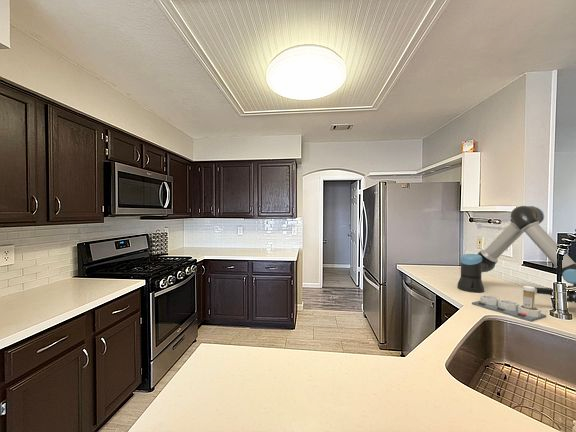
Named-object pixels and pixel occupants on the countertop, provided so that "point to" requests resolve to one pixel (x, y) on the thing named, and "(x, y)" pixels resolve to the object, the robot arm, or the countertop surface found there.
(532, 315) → the breaker board
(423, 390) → the countertop surface
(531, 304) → the sprinkles bottle
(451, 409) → the countertop surface
